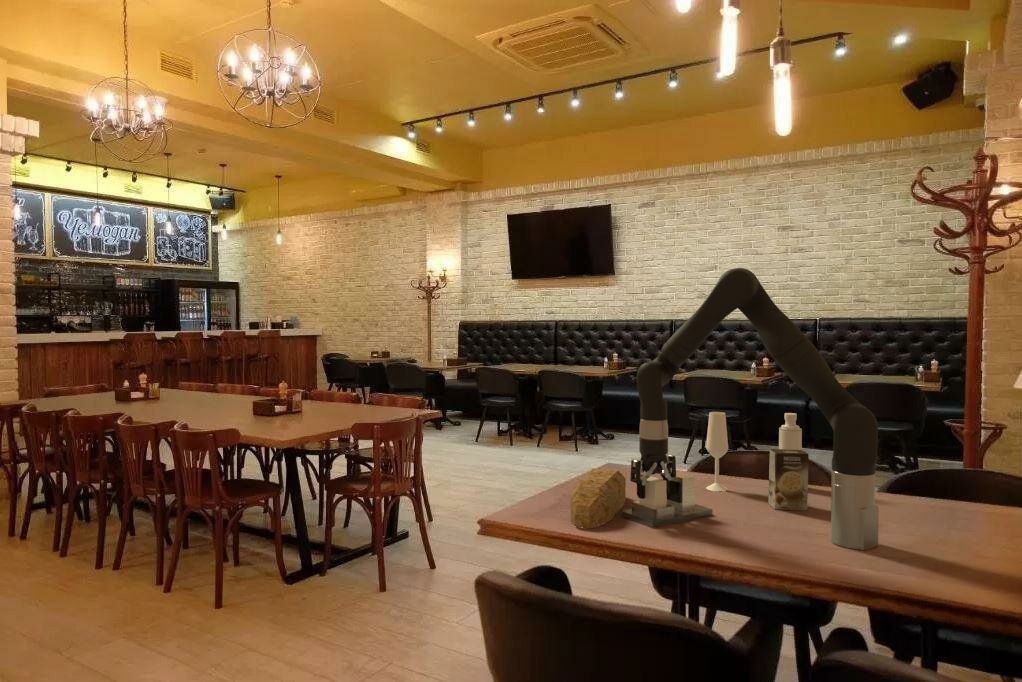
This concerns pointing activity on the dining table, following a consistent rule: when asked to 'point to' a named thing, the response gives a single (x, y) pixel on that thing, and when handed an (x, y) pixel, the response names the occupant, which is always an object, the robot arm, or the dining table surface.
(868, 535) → the robot arm
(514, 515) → the dining table surface
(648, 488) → the beige block
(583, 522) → the bread
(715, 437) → the champagne flute
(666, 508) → the grey block holder
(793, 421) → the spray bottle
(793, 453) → the coffee box
